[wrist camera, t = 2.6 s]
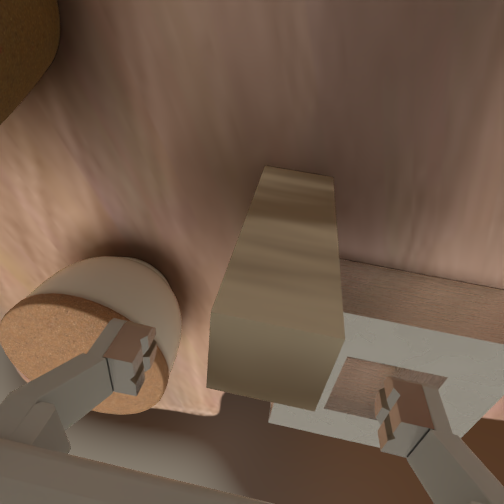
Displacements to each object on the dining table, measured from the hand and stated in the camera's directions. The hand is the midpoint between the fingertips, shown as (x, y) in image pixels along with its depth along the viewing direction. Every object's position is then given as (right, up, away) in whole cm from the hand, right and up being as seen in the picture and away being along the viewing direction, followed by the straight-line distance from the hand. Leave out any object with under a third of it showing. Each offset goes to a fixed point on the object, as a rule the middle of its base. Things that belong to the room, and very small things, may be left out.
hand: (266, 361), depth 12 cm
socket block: (+9, -3, +14) cm, 17 cm away
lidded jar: (-10, +1, +16) cm, 19 cm away
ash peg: (+2, +7, +9) cm, 11 cm away
